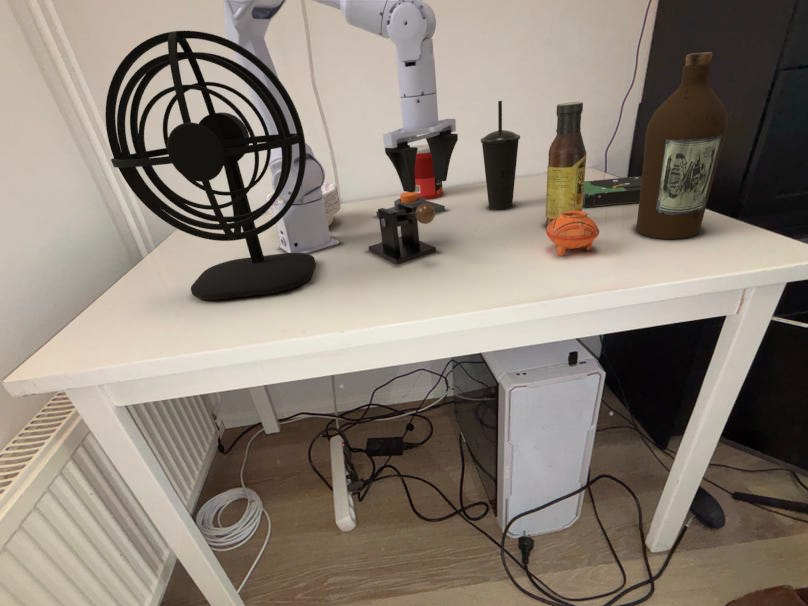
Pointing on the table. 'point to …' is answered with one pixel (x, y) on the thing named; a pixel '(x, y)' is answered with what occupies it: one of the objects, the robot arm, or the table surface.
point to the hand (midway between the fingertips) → (425, 185)
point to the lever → (416, 215)
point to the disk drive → (612, 191)
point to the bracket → (399, 238)
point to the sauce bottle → (566, 163)
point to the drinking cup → (500, 165)
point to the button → (408, 197)
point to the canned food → (426, 174)
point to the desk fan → (211, 162)
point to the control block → (417, 205)
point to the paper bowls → (329, 200)
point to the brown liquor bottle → (682, 155)
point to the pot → (572, 231)
